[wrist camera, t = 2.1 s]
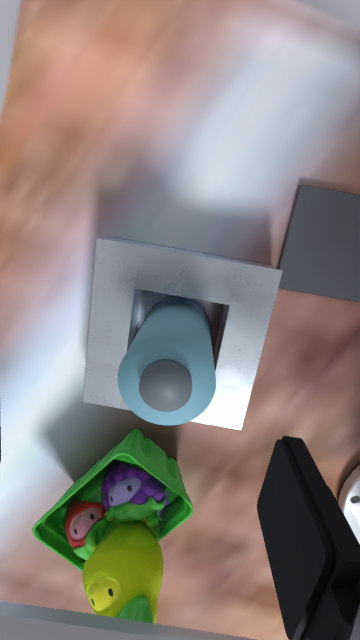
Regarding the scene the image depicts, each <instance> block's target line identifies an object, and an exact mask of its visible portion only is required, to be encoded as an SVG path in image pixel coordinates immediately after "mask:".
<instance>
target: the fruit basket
mask: <svg viewBox="0 0 360 640" xmlns="http://www.w3.org/2000/svg"><path fill="white" fill-rule="evenodd" d="M192 513H193V507H192V504H191V501H190V499H189V496H188V495H187V493H186V491H185V488H184V484H183V481H182V478H181V474H180V471H179V468H178V465H177V462H176V461H175V460H174V459H173V458H170V457H168V456H167V454H166V453H165V451H164V450H162V449H161V448H160V447H159V446H158V445H156V444H155V443H154V442H153V441H152V440H150V439H149V438H147V437H144V435H143V434H142V432H141V431H140V430H139V429H134V430H132V431H131V432H130V433H129V434H128V435H127V436H126V437H125V438H124V439H123V440H122V442H121V443H119V444H117V445H116V446H115V447H113V448H112V449H111V450H110V451H109V452H108V453H107V454H106V455H105V456H104V458H103V459H101V460H99V461H98V462H97V463H96V464H95V465H93V466H92V467H91V468H90V469H89V470H88V472H87V473H86V474H85V475H82V476H81V477H80V478H79V479H78V480H77V481H76V482H74V484H73V485H72V486H71V487H70V488H69V489H68V490H67V492H66V493H65V494H64V495H63V496H62V497H61V499H60V500H59V501H58V502H57V503H56V504H55V505H54V506H53V507H52V508H51V509H50V510H49V511H48V512H47V513H46V514H45V515H43V516H42V517H41V519H40V520H39V521H38V522H37V523H36V524H35V525H34V526H33V528H32V532H33V535H34V536H35V538H36V539H37V540H39V541H40V542H42V543H43V544H45V545H46V546H47V547H49V548H50V549H52V550H53V551H54V552H56V553H57V554H58V555H60V556H61V557H63V558H64V559H66V560H67V561H68V562H70V563H71V564H72V565H74V566H75V567H76V568H78V569H79V570H80V571H82V572H83V585H84V589H85V593H86V596H87V599H88V601H89V603H90V605H91V607H92V609H93V611H94V613H95V614H96V615H101V616H108V617H115V618H121V619H128V620H135V621H141V622H148V623H155V621H156V617H157V609H158V595H159V590H160V587H161V583H162V578H163V557H162V552H161V548H160V545H159V543H158V542H159V541H160V540H161V539H162V538H163V537H165V536H166V535H167V534H169V533H170V532H171V531H173V530H174V529H175V528H176V527H178V526H179V525H180V524H182V523H183V522H184V521H186V520H187V519H188V518H189V517H190V516H191V515H192Z"/></svg>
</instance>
